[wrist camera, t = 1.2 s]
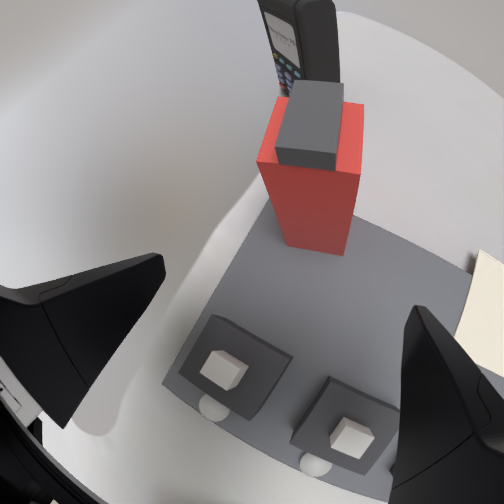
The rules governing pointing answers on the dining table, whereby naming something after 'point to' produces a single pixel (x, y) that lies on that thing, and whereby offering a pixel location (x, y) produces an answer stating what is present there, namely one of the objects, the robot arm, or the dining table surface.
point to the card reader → (302, 40)
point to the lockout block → (313, 164)
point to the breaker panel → (329, 346)
